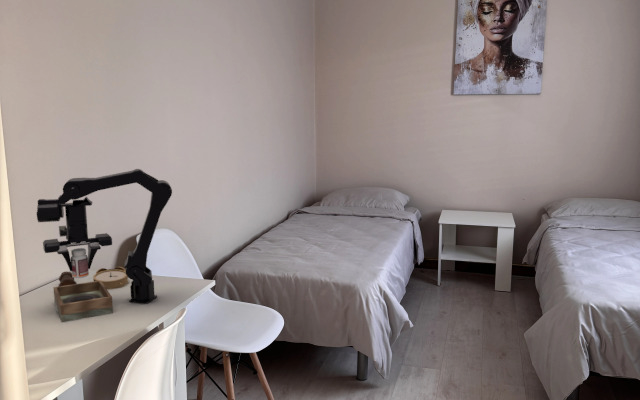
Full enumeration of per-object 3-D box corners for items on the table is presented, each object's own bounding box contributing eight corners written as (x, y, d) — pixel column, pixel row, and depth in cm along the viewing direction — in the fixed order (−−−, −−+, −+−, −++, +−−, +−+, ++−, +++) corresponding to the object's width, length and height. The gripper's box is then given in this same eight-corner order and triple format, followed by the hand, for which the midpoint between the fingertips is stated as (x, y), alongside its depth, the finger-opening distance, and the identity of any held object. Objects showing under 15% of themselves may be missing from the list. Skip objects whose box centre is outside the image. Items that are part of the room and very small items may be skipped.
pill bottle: (90, 273, 167) (88, 247, 165) (86, 278, 162) (84, 251, 161) (74, 274, 166) (72, 248, 165) (69, 278, 161) (67, 252, 160)
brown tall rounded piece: (69, 285, 190) (71, 297, 177) (55, 280, 188) (55, 291, 175) (77, 270, 191) (79, 281, 178) (63, 265, 188) (64, 275, 175)
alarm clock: (92, 283, 178) (93, 263, 191) (93, 296, 180) (94, 276, 193) (127, 280, 182) (127, 261, 195) (128, 293, 184) (127, 273, 197)
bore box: (101, 294, 175) (100, 280, 174) (112, 312, 160) (112, 296, 159) (54, 302, 168) (53, 287, 167) (61, 322, 153) (60, 305, 152)
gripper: (104, 212, 173) (107, 259, 175) (39, 218, 163) (43, 267, 166) (111, 218, 163) (114, 267, 166) (42, 225, 154) (47, 277, 156)
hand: (80, 269), depth 164 cm, fingers closed on pill bottle, 5 cm apart
